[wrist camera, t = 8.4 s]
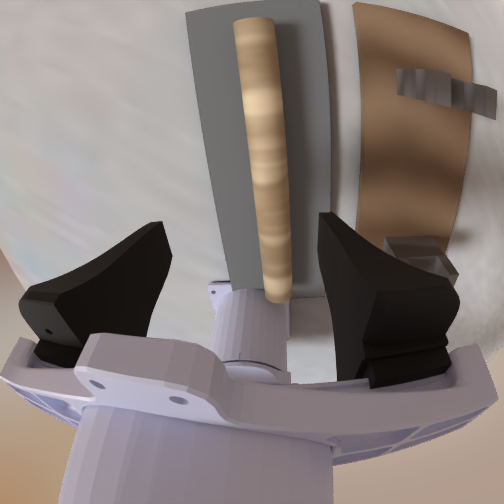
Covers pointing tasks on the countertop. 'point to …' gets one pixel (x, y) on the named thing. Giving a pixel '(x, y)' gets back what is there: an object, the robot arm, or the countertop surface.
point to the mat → (235, 136)
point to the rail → (266, 150)
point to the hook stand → (414, 132)
